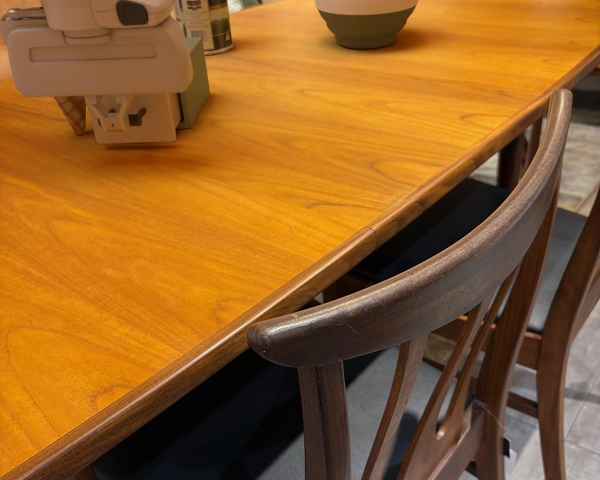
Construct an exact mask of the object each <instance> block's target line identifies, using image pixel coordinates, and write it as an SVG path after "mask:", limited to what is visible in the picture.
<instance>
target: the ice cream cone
mask: <svg viewBox="0 0 600 480" xmlns="http://www.w3.org/2000/svg"><path fill="white" fill-rule="evenodd" d="M53 98H54V100H55V103H56V104H57V105H58V107H59V109H60V111H61V113H62V114H63V115H64V117H65V119H66V120H67V122H68V124H69V126H70V128H71V129H72V130H73V132H74V133H75V135H76V136H83V135H85V134H86V133H87V105H86V103H85V99H84V96H60V97H53Z"/></svg>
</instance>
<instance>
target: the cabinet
mask: <svg viewBox="0 0 600 480" xmlns="http://www.w3.org/2000/svg"><path fill="white" fill-rule="evenodd" d="M185 39H186V42H187V45H188V49H189V53H190V57H191V62H192V67H193V80H192V82H191V83H190V85H189V86H188V88H187V89H186V90H185V91H184V92H181V93H180V97H181V103H182V109H183V117H182V119H181V120H180V122H179V124H178V125H177V127H176V129H192V127H193V126H194V124H195V122H196V121H197V118H198V117H199V115H200V113H201V112H202V110H203V108H204V106H205V104H206V102H207V101H208V99H209V97H210V95H211V89H210V84H209V83H210V82H209V75H208V74H209V73H208V67H207V61H206V55H205V53H204V46H203V39H202V37H189V38H185ZM176 129H175V130H176Z"/></svg>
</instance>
